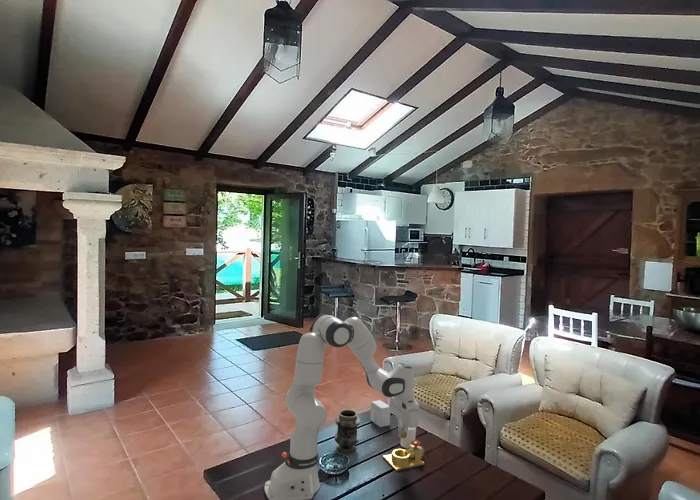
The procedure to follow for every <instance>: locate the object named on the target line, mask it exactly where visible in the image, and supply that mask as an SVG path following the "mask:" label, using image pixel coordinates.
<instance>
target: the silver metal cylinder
mask: <svg viewBox="0 0 700 500" xmlns="http://www.w3.org/2000/svg"><path fill="white" fill-rule="evenodd" d="M403 427H405V424H404V422H403V421H402V420H401V419H400V415H399V424H398V425H397V428H398V430H397V437H398V438H406V437H407V432H405V431H404V430H403Z"/></svg>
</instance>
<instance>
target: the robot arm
mask: <svg viewBox="0 0 700 500" xmlns="http://www.w3.org/2000/svg"><path fill="white" fill-rule="evenodd" d="M328 345H330V346H331V347H333V348H342V347H344V346H346V345H347V346H348V347H349V349H350V351H351V353H352V354H354V356H355V357H356V358H357V359H358V361H359V363H360V364H361V366H362V368H363V370H364V372H365V378H366V382H367V385H368V386H369V387H370V388H372V389H373V390H376V391H377V392H379V393H380V394H381V395H383V396H384V397H387V398H390V399H389V404H388V406H389V409H390V413H392V414H393V415H394V416H395V419H396V426H398V424H399V415H400V419H401V420H402V421H403V422H404V424H405V427H403V430H404V431H405V432H408V428H409V427H410V428H414V427H416V428H417V427H418V426H419V419H420V418H419V417H420V414H419V413H420V412H419V409H420V404H419V402H418V401H417V400H416V397H415V396H414V393H415V392H414V386H415V372H414V369H413V367H412V366H410V365H409V364H405V363H397V364H396V366H395V367H394V368H393V369H392V370H391V371H389V372H388V371H387V370H386V369H384V368H383V367H382V366H380V365H378V364H377V362H376V360H375V358H374V357H373V355H374V354H375V353H376V350H377V348H378V347H377V343H376V340H375V338H374V336H373V334H372V333H371V331H370V329H368V326H367V325H366V324H365V323H364V322H363V321H362V320H361V318H359V317H357V316H351V317H348V318H347V319H345V320H341V319H340V318H338V317H336V316H334V315H331V314H329V313H321V314H319V315H317V316H316V317H315V318H314V320H313V322H312V323H311V326H310V328H309V332H306V333H304V334H302V336H301V337H300V340H299V341H298V347H297V352H296V358H295V367H294V375H293V380H292V384H291V387H290V389H288V391H287V392H286V394H285V397H284V402H285V406H286V408H287V410H288V411H289V412H290V413H291V414H292V415H293V416H294V419H295V427H294V429H293V430H292V432H291V433H290V444H289V445H290V448H289V449H290V450H289V452H288V453H287V452H286V451H283V452H282V453H281V457H282V458H283V459H285V460H284V462H283V463H282V464H280V465H279V466H278V467H277V468H275V469H274V470H273V471H272V472H271V476H270V480H266V481H265V484H264V488H263V490H264V494H265V495H266V497H267V499H268V500H311V499H312V498H314V495H315V494H316V493H317V492H318V491H319V489H320V487H321V483H320V481H319V475H318V473H319V472H318V465H319V452H318V440H319V439H318V438H319V432H320V430H321V429H320V428H321V427H322V426H323V425H324V424H325V423H326V420H327V417H328V413H327V410H326V408H325V406H324V405H323V403H322V402H321V401H320V399H318V398H317V397H316V395H315V391H316V387H317V385H318V384H319V383H320V382H321V380H322V377H323V366H324V355H325V354H324V353H325V350H326V348H327V346H328Z"/></svg>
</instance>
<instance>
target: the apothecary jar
mask: <svg viewBox="0 0 700 500" xmlns="http://www.w3.org/2000/svg"><path fill="white" fill-rule="evenodd" d="M335 424H336V425H337V430H336V431H337V432H336V433H334V437H333V438H334V441H335V443H336V444H337V446H336V448H335V450H336V451H337V452H338V453H340V454H342V455H353V454H355V453H356V452H357V447H356V445H357V444H358V443H359V442H360V436H359V434H358V426H360V424H361V419H360V418H359V416H358V413H357V412H356V411H355V410H353V409H342V410H341V411H339V414H338V415H337V416H336V418H335Z"/></svg>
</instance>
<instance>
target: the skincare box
mask: <svg viewBox="0 0 700 500" xmlns="http://www.w3.org/2000/svg"><path fill="white" fill-rule="evenodd" d="M370 402H371V404H370V419H369V420H370V422H373V423H374V424H375V425H377V426H378V427H379V428H383V427H389V426H390V424H391V411H390V409H389V404H387V403H385V402H384V401H382V400H380V399H378V400H373V401H370Z"/></svg>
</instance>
